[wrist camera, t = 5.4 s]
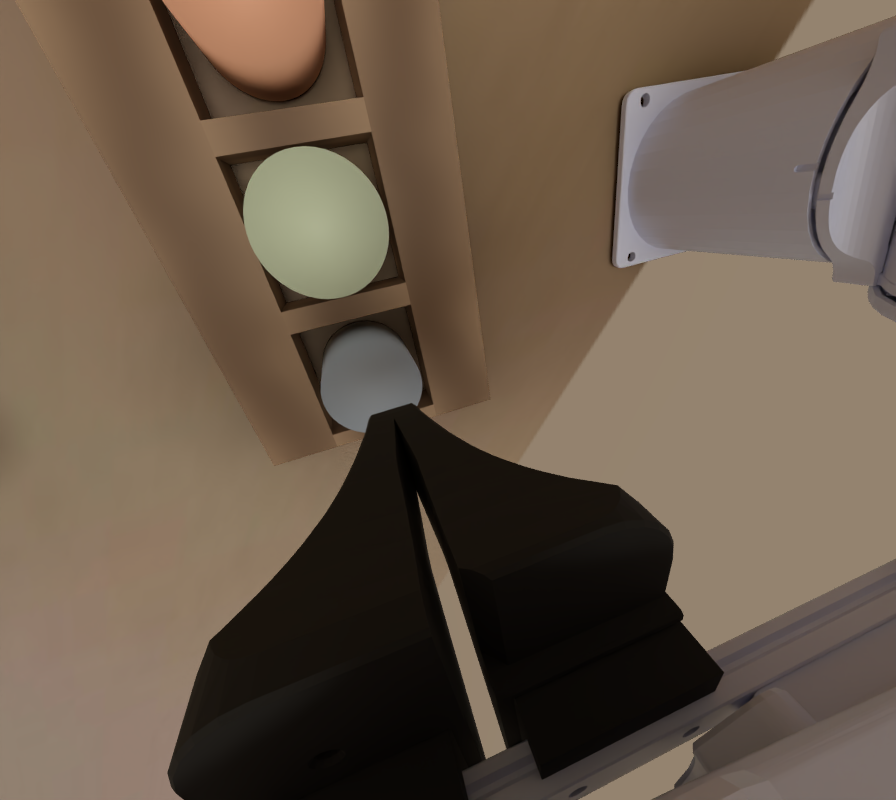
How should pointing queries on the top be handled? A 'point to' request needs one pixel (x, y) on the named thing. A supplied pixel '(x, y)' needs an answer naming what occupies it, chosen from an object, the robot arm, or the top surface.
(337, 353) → the grey rounded piece
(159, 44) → the wooden compartment tray
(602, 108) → the top surface
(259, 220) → the sage button
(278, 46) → the orange rounded lump
